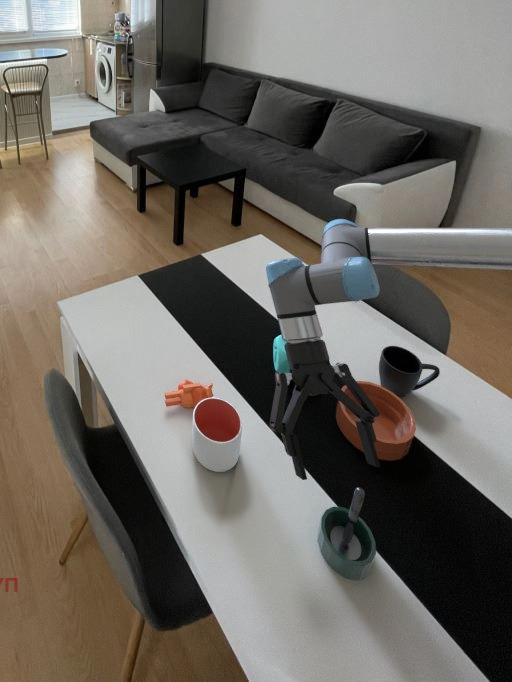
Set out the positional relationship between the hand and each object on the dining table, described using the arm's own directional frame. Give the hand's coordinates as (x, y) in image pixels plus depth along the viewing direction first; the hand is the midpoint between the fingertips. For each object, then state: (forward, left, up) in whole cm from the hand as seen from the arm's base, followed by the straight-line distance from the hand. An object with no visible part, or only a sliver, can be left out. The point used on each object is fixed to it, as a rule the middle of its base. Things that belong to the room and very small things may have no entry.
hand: (338, 471), depth 75 cm
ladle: (-3, +4, -13) cm, 14 cm away
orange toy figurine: (+31, -12, -14) cm, 36 cm away
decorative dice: (+10, -32, -14) cm, 36 cm away
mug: (-15, -37, -14) cm, 42 cm away
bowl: (-8, -23, -14) cm, 28 cm away
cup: (+22, -3, -14) cm, 26 cm away
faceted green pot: (-3, +4, -14) cm, 15 cm away
